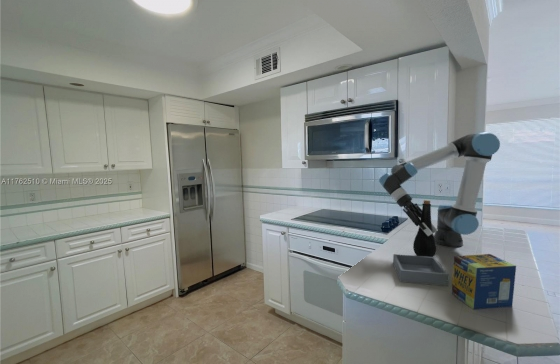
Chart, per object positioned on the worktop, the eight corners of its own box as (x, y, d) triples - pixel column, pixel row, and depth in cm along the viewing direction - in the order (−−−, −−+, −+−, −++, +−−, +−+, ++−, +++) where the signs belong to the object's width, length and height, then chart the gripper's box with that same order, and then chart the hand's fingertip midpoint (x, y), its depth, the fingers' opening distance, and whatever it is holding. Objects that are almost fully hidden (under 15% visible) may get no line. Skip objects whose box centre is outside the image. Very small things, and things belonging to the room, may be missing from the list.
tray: (433, 267, 124) (434, 257, 123) (447, 286, 106) (448, 274, 106) (393, 263, 128) (393, 254, 127) (400, 281, 111) (400, 270, 110)
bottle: (433, 254, 138) (436, 199, 135) (438, 262, 128) (441, 203, 125) (411, 252, 142) (413, 198, 138) (414, 260, 132) (417, 202, 128)
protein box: (450, 293, 101) (453, 255, 99) (487, 291, 102) (490, 253, 100) (473, 310, 90) (476, 267, 89) (513, 307, 92) (517, 265, 90)
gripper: (404, 199, 150) (434, 233, 139) (388, 204, 137) (419, 241, 127) (414, 191, 145) (445, 225, 135) (398, 195, 133) (432, 233, 122)
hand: (433, 233), depth 131 cm, fingers closed on bottle, 6 cm apart
